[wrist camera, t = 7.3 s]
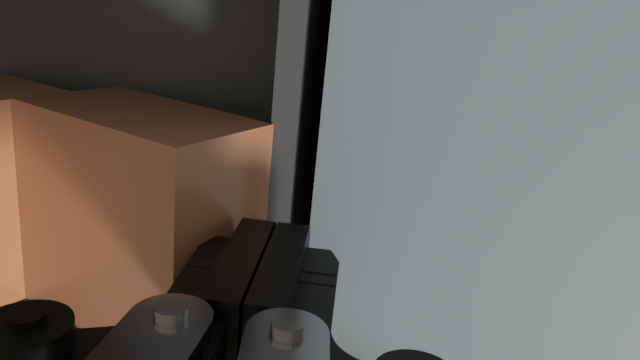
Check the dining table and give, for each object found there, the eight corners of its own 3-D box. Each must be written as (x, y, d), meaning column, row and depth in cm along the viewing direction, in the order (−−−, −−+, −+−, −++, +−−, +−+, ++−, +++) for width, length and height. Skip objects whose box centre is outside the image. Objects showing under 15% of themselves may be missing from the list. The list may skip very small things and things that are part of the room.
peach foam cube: (120, 86, 15) (10, 98, 13) (273, 123, 13) (175, 148, 10) (123, 256, 17) (25, 297, 14) (259, 318, 14) (171, 379, 12)
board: (351, -113, 14) (346, -140, 11) (1059, -46, 13) (1255, -56, 10) (295, 425, 19) (281, 502, 16) (797, 497, 18) (877, 592, 15)
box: (-177, -119, 15) (-524, -189, 9) (326, -69, 14) (295, -110, 8) (-100, 344, 19) (-299, 493, 13) (282, 398, 18) (242, 579, 13)
